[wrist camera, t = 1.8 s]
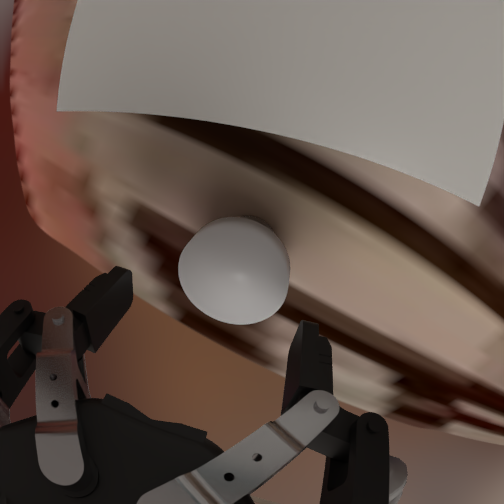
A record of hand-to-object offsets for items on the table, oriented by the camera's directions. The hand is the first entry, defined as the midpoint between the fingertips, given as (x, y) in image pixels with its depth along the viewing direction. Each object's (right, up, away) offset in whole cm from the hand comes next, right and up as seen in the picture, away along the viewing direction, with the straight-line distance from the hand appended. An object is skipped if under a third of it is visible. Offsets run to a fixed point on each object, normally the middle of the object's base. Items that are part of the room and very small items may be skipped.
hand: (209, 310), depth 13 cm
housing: (+5, +17, -1) cm, 18 cm away
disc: (+1, +2, +4) cm, 5 cm away
